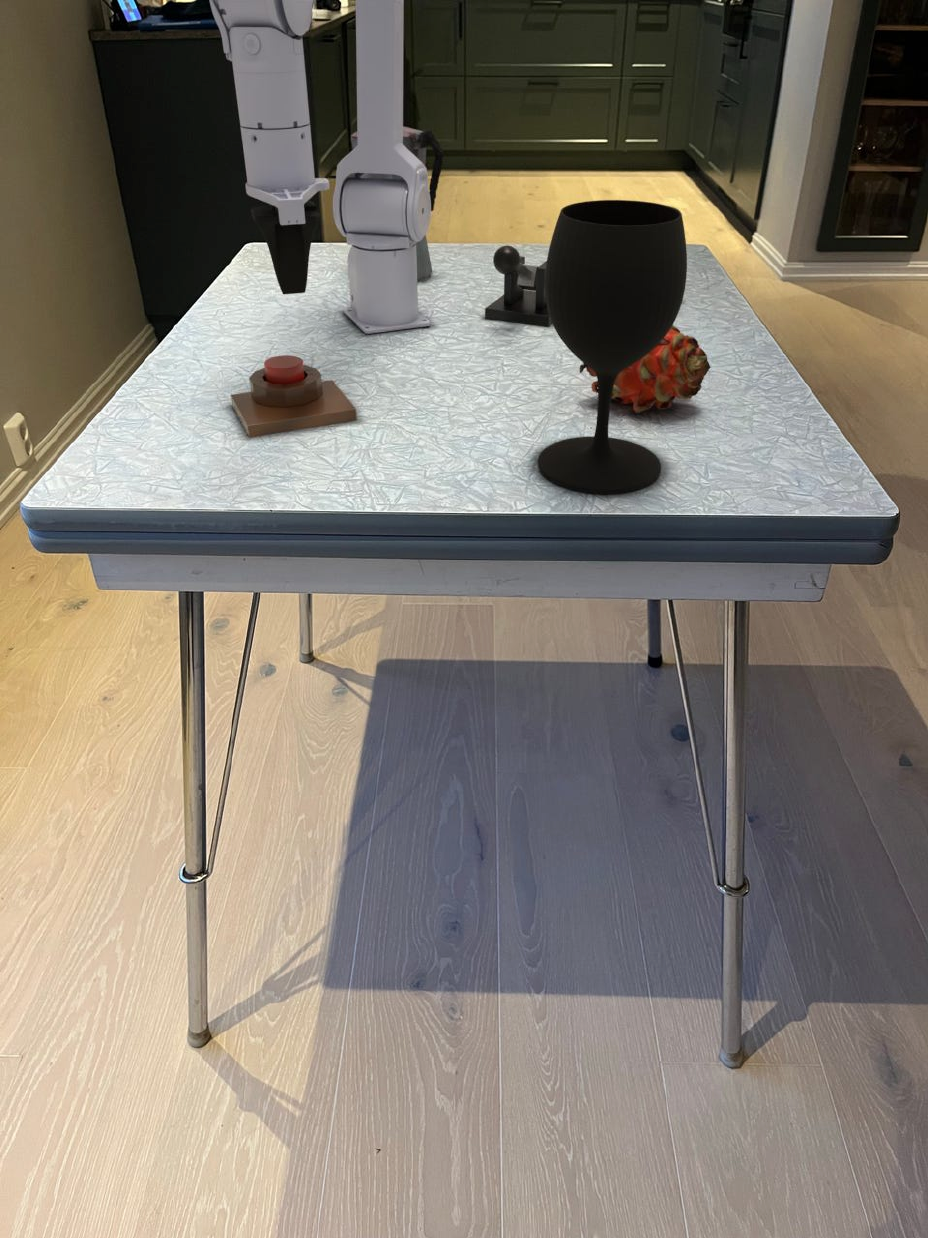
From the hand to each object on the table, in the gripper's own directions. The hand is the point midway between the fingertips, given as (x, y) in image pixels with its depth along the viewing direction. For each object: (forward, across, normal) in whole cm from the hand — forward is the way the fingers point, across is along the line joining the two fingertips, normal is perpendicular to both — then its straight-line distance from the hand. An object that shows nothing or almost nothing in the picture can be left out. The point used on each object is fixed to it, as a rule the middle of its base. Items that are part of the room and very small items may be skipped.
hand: (293, 291), depth 86 cm
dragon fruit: (+10, -10, -31) cm, 34 cm away
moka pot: (+11, +40, -18) cm, 45 cm away
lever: (+6, +17, -27) cm, 32 cm away
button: (+8, -2, +2) cm, 8 cm away
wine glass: (+10, -22, -22) cm, 33 cm away
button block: (+10, -4, +2) cm, 11 cm away
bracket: (+10, +21, -30) cm, 38 cm away
